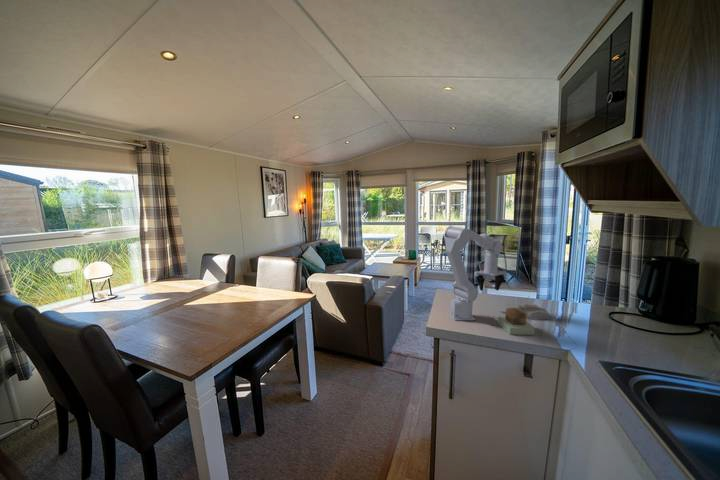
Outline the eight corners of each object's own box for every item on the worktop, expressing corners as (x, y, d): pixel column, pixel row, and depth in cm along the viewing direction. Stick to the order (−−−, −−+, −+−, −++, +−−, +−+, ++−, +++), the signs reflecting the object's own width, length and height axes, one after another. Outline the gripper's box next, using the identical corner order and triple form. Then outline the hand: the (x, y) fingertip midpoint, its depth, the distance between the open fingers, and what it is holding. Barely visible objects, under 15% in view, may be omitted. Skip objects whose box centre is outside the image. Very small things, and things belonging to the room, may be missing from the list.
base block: (509, 334, 108) (510, 327, 107) (497, 322, 118) (497, 316, 117) (534, 334, 108) (534, 327, 107) (519, 322, 117) (520, 316, 117)
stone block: (529, 324, 120) (551, 320, 120) (528, 314, 120) (550, 310, 119) (514, 313, 132) (534, 309, 132) (513, 304, 131) (533, 300, 131)
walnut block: (512, 324, 110) (513, 313, 109) (505, 318, 115) (506, 308, 114) (525, 324, 110) (526, 313, 109) (517, 318, 115) (518, 308, 114)
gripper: (479, 265, 123) (477, 292, 126) (510, 265, 123) (508, 292, 125) (473, 261, 130) (471, 287, 133) (502, 261, 130) (500, 287, 132)
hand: (488, 289), depth 129 cm, fingers open, 7 cm apart
